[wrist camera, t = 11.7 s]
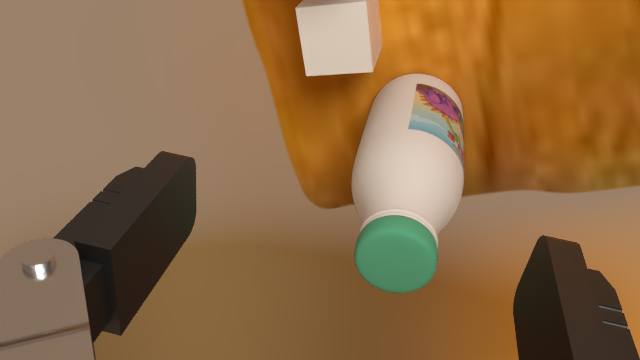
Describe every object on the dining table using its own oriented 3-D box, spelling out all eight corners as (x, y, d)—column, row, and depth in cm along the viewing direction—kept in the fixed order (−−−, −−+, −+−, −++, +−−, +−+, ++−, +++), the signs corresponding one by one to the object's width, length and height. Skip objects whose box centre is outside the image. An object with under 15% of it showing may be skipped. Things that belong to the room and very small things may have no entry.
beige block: (376, -18, 42) (366, 1, 37) (382, 46, 44) (372, 72, 39) (314, -12, 43) (295, 8, 38) (322, 50, 45) (306, 76, 40)
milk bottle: (386, 161, 49) (350, 322, 33) (360, 84, 46) (305, 219, 30) (472, 143, 47) (480, 308, 30) (451, 59, 43) (448, 194, 27)
